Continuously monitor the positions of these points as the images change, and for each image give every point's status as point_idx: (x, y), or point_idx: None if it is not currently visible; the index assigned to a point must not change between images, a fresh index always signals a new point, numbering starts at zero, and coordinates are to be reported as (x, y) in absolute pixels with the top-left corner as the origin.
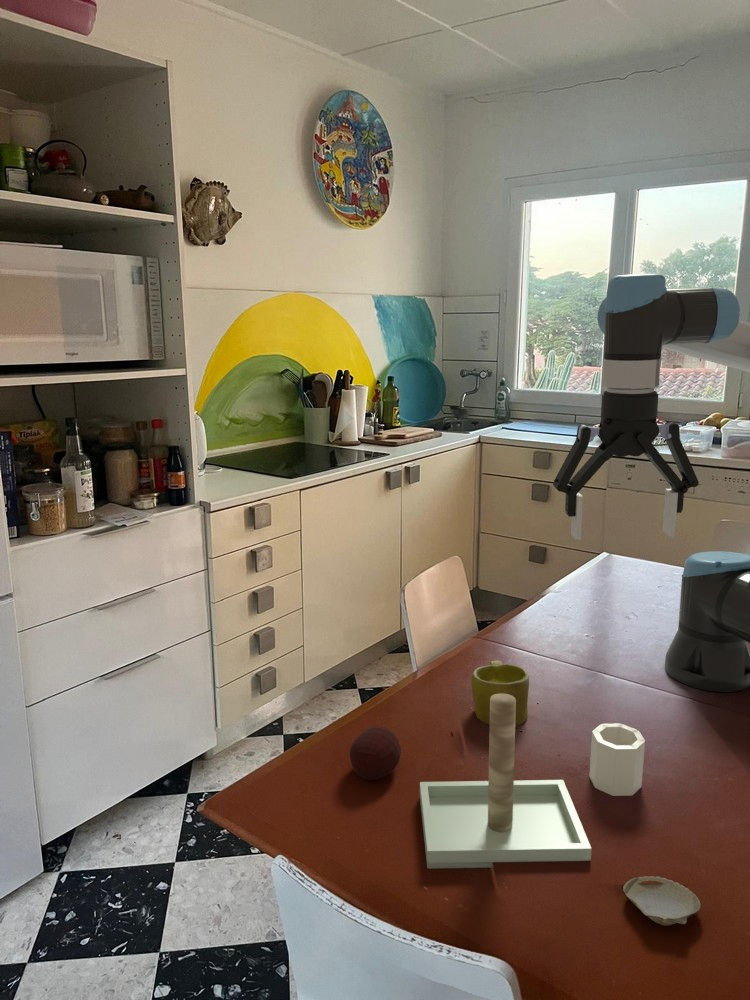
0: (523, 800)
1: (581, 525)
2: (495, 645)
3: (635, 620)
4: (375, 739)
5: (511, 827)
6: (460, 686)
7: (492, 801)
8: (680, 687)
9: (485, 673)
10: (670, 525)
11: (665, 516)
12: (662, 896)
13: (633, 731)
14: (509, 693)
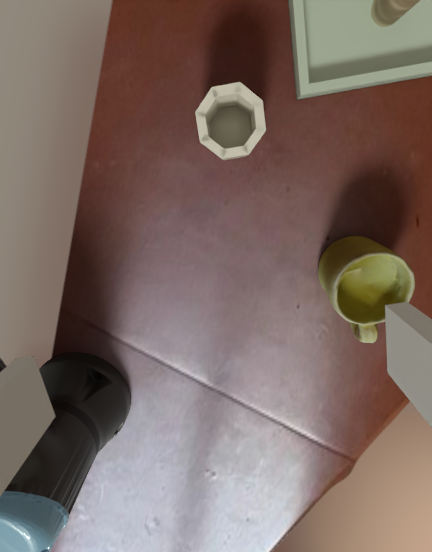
0: (349, 68)
1: (419, 331)
2: (334, 442)
3: (148, 515)
4: None
5: (373, 2)
6: None
7: None
8: (119, 360)
9: None
10: (6, 381)
11: (12, 448)
12: None
13: (207, 137)
14: (362, 249)
